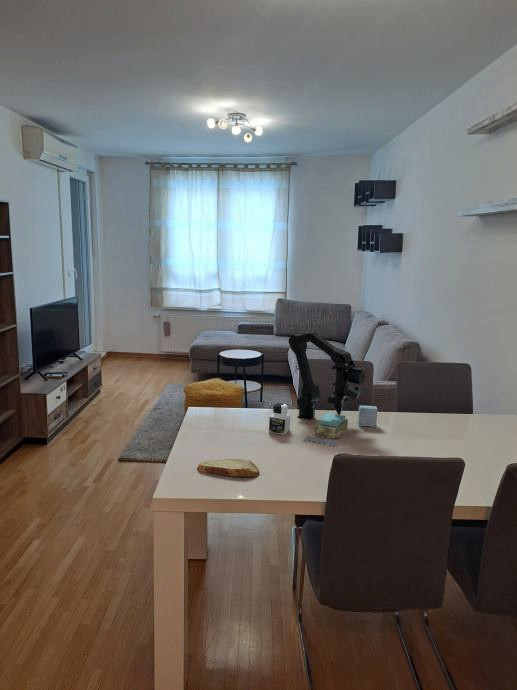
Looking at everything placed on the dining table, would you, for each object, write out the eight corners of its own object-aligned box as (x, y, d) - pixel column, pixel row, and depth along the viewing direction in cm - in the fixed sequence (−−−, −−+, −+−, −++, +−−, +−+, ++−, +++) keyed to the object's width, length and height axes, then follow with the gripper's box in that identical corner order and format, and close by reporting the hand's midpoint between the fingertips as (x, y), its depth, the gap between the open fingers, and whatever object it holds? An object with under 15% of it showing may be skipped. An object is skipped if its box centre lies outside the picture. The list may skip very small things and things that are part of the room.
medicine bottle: (268, 432, 223) (269, 405, 221) (274, 427, 229) (275, 401, 227) (284, 435, 220) (285, 407, 218) (289, 430, 227) (291, 403, 225)
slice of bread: (192, 468, 184) (193, 458, 183) (235, 458, 194) (235, 448, 194) (220, 488, 170) (221, 477, 169) (264, 475, 180) (265, 465, 180)
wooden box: (314, 435, 221) (315, 423, 220) (325, 426, 234) (325, 415, 233) (337, 439, 217) (338, 427, 216) (347, 430, 229) (347, 418, 229)
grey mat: (303, 440, 215) (303, 439, 215) (307, 436, 219) (307, 436, 219) (336, 446, 209) (336, 446, 209) (340, 442, 213) (340, 442, 213)
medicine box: (375, 424, 239) (376, 406, 237) (376, 427, 234) (377, 409, 233) (357, 423, 239) (358, 405, 238) (358, 426, 235) (359, 407, 233)
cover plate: (319, 424, 222) (319, 419, 221) (327, 417, 232) (327, 413, 231) (337, 427, 218) (338, 423, 218) (345, 420, 228) (345, 416, 228)
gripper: (353, 387, 219) (351, 423, 222) (364, 378, 236) (362, 412, 239) (328, 383, 224) (325, 419, 227) (340, 375, 241) (338, 408, 243)
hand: (339, 414), depth 234 cm, fingers closed
